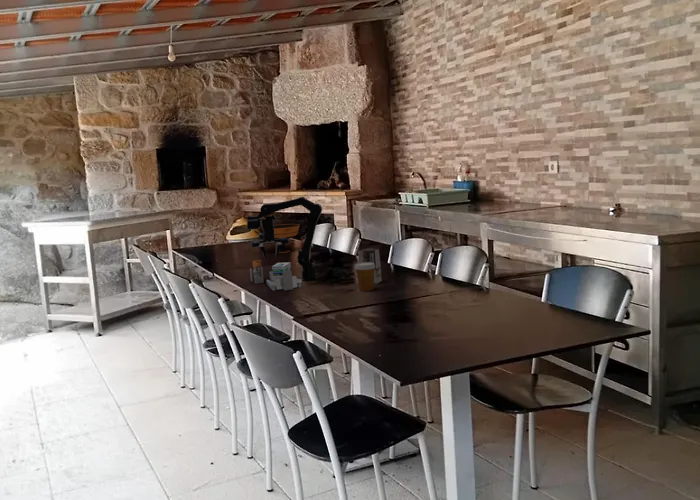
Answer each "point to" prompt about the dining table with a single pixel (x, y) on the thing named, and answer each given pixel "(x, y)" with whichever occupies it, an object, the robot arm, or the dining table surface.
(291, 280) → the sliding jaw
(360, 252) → the coffee box
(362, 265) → the disposable coffee cup
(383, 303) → the dining table surface
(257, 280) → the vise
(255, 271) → the lever
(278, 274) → the light bulb box
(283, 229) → the cup
